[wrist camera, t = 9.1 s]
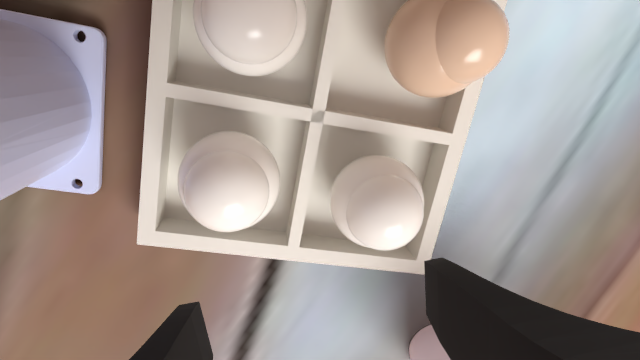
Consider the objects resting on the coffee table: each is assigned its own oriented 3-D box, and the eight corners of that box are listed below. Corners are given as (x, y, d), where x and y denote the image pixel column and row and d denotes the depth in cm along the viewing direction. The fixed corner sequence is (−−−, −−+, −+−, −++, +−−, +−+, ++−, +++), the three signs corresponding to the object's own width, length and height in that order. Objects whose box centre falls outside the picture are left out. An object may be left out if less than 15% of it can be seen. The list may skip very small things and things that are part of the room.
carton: (149, 225, 21) (136, 244, 19) (173, -94, 17) (159, -116, 15) (412, 255, 24) (426, 274, 22) (487, -14, 20) (513, -23, 17)
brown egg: (391, 118, 19) (489, 117, 15) (347, 35, 17) (446, 5, 13) (441, 66, 21) (544, 52, 17) (407, -15, 19) (514, -57, 14)
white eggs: (184, 203, 20) (156, 251, 15) (208, -43, 17) (183, -86, 12) (394, 229, 22) (431, 280, 17) (450, 14, 19) (516, -2, 14)
